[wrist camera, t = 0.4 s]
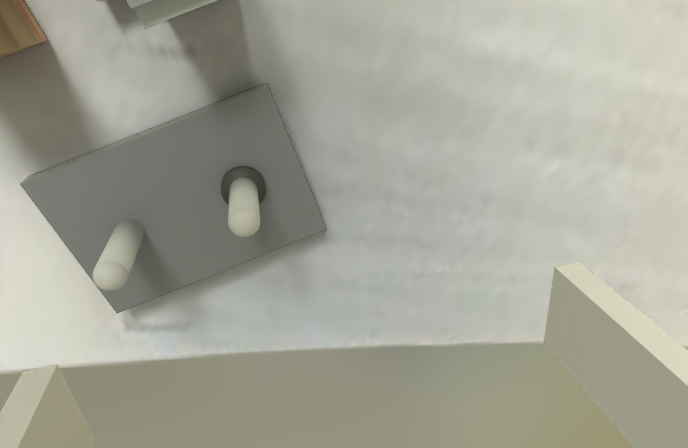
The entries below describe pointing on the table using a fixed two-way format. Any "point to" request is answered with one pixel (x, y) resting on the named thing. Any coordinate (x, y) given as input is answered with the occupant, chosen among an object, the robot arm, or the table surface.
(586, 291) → the robot arm
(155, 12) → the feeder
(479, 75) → the table surface
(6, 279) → the table surface
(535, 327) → the table surface
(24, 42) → the sleeve
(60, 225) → the pinboard
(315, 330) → the table surface
